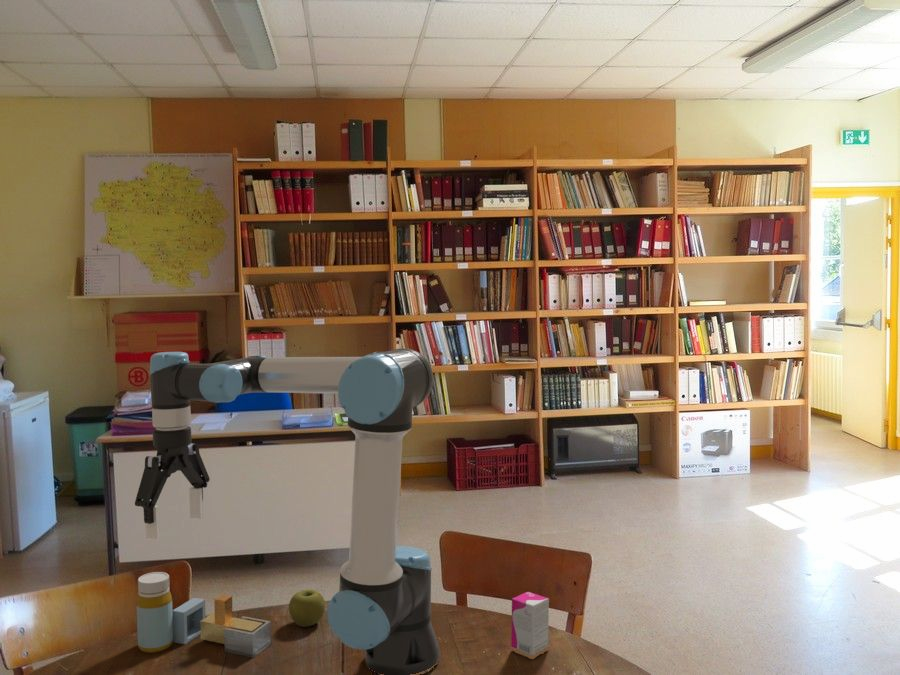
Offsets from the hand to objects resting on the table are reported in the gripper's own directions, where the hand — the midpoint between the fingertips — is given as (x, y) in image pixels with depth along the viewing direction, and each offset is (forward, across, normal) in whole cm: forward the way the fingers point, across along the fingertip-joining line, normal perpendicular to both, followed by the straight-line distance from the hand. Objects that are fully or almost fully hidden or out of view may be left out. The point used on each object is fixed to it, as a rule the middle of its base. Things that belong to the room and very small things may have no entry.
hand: (175, 527), depth 164 cm
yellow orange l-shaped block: (+25, -5, +10) cm, 27 cm away
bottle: (+26, +1, -5) cm, 27 cm away
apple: (+26, -19, +20) cm, 38 cm away
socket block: (+26, -5, -1) cm, 26 cm away
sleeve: (+26, -5, +14) cm, 30 cm away
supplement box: (+27, -24, +70) cm, 78 cm away
